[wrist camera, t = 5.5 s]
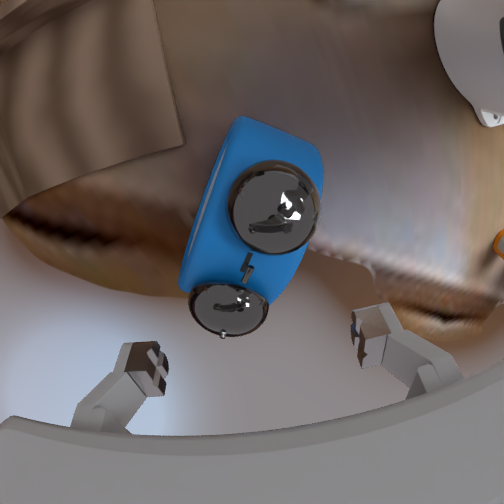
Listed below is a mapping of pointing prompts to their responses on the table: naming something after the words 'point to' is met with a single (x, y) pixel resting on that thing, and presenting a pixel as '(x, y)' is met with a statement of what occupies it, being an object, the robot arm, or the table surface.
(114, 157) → the shelf bay
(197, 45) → the table surface
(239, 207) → the alarm clock
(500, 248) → the toiletry set
